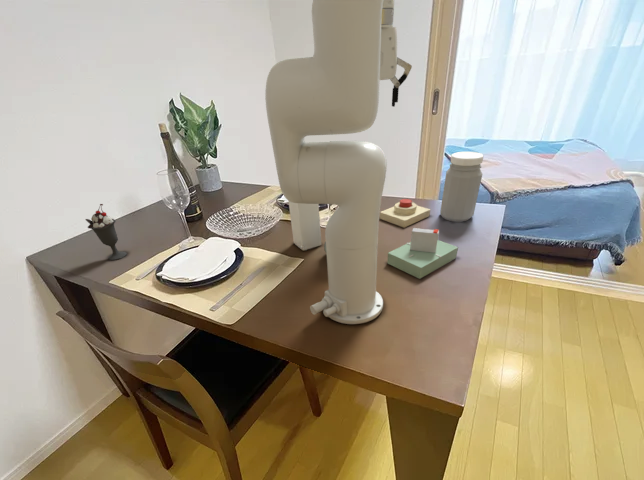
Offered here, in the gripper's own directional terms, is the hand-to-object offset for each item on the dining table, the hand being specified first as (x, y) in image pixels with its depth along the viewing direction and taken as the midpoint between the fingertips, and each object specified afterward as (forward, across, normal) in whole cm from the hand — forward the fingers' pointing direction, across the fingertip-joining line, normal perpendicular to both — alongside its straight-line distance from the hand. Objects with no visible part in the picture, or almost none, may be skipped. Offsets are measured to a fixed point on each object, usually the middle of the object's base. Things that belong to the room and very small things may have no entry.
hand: (374, 106), depth 86 cm
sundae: (+31, -71, -30) cm, 83 cm away
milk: (+31, -16, -18) cm, 40 cm away
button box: (+31, +10, +3) cm, 33 cm away
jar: (+31, +26, +4) cm, 41 cm away
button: (+28, +10, +3) cm, 30 cm away
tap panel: (+31, +14, -25) cm, 42 cm away
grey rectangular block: (+28, +14, -25) cm, 40 cm away
